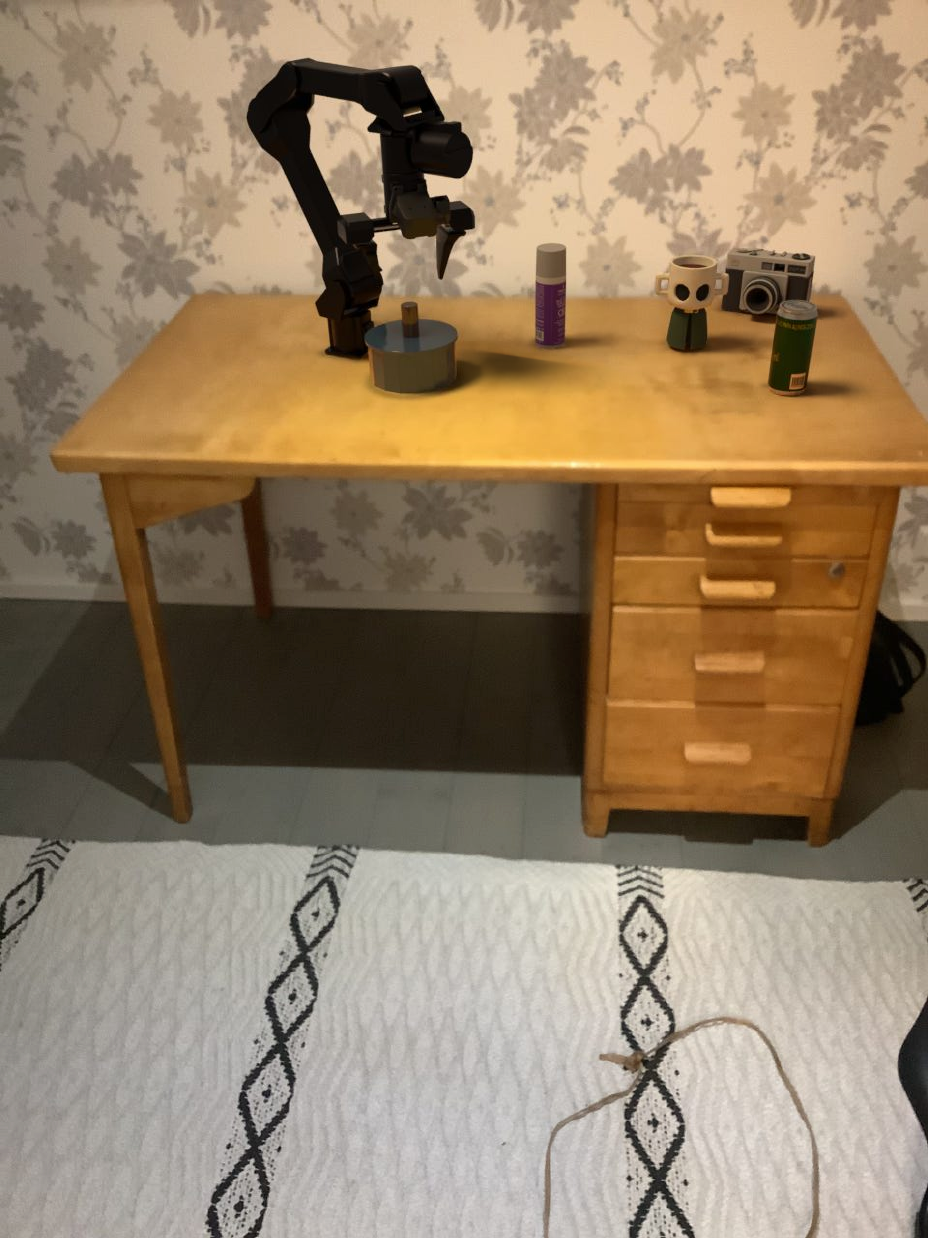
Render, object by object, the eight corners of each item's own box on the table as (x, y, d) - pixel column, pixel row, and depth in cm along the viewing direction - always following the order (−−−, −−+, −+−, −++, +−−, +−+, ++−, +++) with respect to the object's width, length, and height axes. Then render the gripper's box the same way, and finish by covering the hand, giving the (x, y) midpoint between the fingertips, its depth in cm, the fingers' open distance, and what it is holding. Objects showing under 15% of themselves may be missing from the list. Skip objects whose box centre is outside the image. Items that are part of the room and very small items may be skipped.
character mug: (651, 353, 167) (657, 268, 160) (650, 337, 173) (655, 254, 166) (723, 354, 166) (733, 268, 159) (720, 337, 172) (728, 254, 164)
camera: (708, 314, 180) (716, 252, 175) (731, 300, 186) (739, 240, 181) (789, 329, 173) (800, 265, 168) (810, 314, 180) (820, 252, 174)
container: (562, 349, 170) (564, 252, 161) (533, 348, 171) (533, 251, 162) (566, 338, 173) (568, 242, 165) (537, 337, 174) (538, 242, 166)
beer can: (814, 391, 153) (827, 307, 147) (783, 399, 152) (795, 315, 145) (789, 378, 157) (801, 296, 151) (759, 386, 156) (769, 303, 149)
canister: (355, 389, 160) (351, 347, 156) (397, 359, 169) (395, 318, 165) (431, 402, 155) (429, 359, 151) (470, 370, 164) (469, 329, 160)
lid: (347, 351, 156) (343, 313, 153) (393, 320, 166) (391, 284, 163) (431, 365, 151) (429, 325, 148) (474, 332, 161) (473, 294, 158)
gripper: (350, 190, 140) (361, 309, 149) (487, 174, 145) (489, 290, 154) (331, 171, 149) (342, 285, 158) (460, 157, 154) (464, 268, 163)
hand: (410, 282), depth 158 cm, fingers open, 9 cm apart
